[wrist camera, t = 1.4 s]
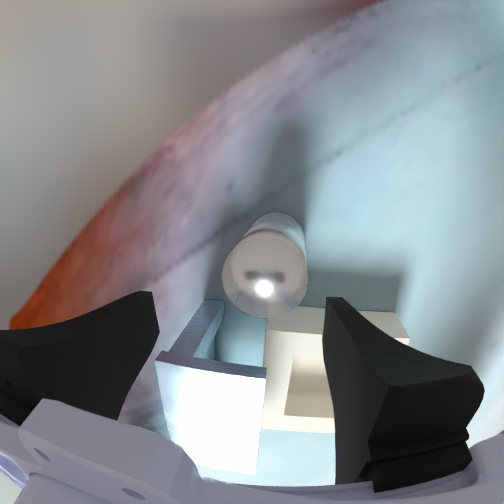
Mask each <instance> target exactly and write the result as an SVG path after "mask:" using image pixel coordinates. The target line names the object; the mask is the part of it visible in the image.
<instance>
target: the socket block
mask: <svg viewBox="0 0 504 504" xmlns="http://www.w3.org/2000/svg"><path fill="white" fill-rule="evenodd" d="M357 311H358V310H357ZM358 312H359V313H360V314H361V315H363V316H364V317H365V318H366V319H367V320H369V321H370V322H371V323H372V324H374V325H375V326H376V327H378V328H379V329H380V330H382V331H383V332H385V333H386V334H388V335H389V336H391V337H393V338H394V339H396V340H398V341H400V342H401V343H403V344H405V345H407V346H408V343H409V340H410V337H409V335H408V334H407V332H406V330H405V329H404V327H403V325H402V323H401V322H400V320H399V318H398V317H397V315H396V313H395V312H375V311H358ZM324 317H325V308H316V307H304V306H297V307H296V308H294V309H293V310H292V311H290V312H289V313H287V314H285V315H283V316H280V317H276V318H268V323H267V328H266V336H265V348H264V359H263V367H265V368H267V376H266V385H265V395H264V404H263V413H262V422H261V428H266V429H276V430H286V431H300V432H319V433H335V425H334V411H333V404H332V398H331V393H330V389H329V384H328V379H327V374H326V369H325V365H324V360H323V347H322V335H323V327H324Z"/></svg>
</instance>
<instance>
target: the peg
mask: <svg viewBox="0 0 504 504" xmlns="http://www.w3.org/2000/svg"><path fill="white" fill-rule="evenodd" d="M222 283H223V287H224V290H225V293H226V295H227V297H228V298H229V300H230V301H231V302H232V303H233V304H234V305H235V306H236V307H237V308H238V309H239V310H241V311H242V312H244V313H246V314H248V315H250V316H253V317H257V318H276V317H280V316H283V315H285V314H287V313H289V312H290V311H292V310H293V309H294V308H296V307H297V306H298V305H299V304H300V302H301V301H302V299H303V298H304V296H305V293H306V290H307V286H308V270H307V259H306V249H305V239H304V233H303V230H302V228H301V226H300V224H299V223H298V222H297V221H296V220H295V219H294V218H293V217H291V216H290V215H288V214H285V213H281V212H271V213H267V214H265V215H263V216H261V217H260V218H258V219H257V220H256V221H255V222H254V224H253V225H252V226H251V227H250V229H249V230H248V231H247V232H246V234H245V235H244V236H243V237H242V238H241V240H240V241H239V242H238V243H237V245H236V246H235V247H234V248H233V250H232V251H231V252H230V254H229V255H228V256H227V258H226V260H225V263H224V265H223V269H222Z"/></svg>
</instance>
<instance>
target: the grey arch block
mask: <svg viewBox="0 0 504 504" xmlns="http://www.w3.org/2000/svg"><path fill="white" fill-rule="evenodd" d="M223 318H224V301H219V300H211V299H205V300H204V302H203V303H202V304H201V306H200V307H199V309H198V310H197V312H196V313H195V314H194V316H193V317H192V319H191V320H190V322H189V323H188V324H187V326H186V327H185V329H184V330H183V332H182V333H181V334H180V336H179V337H178V339H177V340H176V342H175V343H174V345H173V346H172V347H171V349H170V350H169V352H166V351H161V353H160V354H159V355H158V357H157V358H156V359H155V364H156V371H157V377H158V382H159V388H160V393H161V399H162V404H163V409H164V414H165V418H166V423H167V428H168V432H169V436H170V440H171V441H173V442H174V443H176V444H178V445H179V446H181V447H182V448H183V449H184V451H185V452H186V453H187V454H188V455H189V457H190V458H191V459H192V460H193V461H194V463H195V464H198V465H202V466H207V467H212V468H217V469H222V470H228V471H234V472H240V473H247V474H255V469H256V464H257V456H258V447H259V439H260V431H261V422H262V413H263V404H264V395H265V385H266V376H267V368H265V367H257V366H249V365H241V364H234V363H227V362H221V361H215V334H216V332H217V330H218V328H219V326H220V324H221V322H222V320H223Z"/></svg>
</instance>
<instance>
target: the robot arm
mask: <svg viewBox="0 0 504 504" xmlns="http://www.w3.org/2000/svg"><path fill="white" fill-rule="evenodd" d="M159 333H160V331H159V326H158V321H157V316H156V311H155V306H154V301H153V295H152V292H147V291H138V292H135V293H132V294H129V295H127V296H125V297H122V298H120V299H118V300H116V301H114V302H111V303H109V304H107V305H105V306H103V307H100V308H98V309H96V310H93V311H91V312H89V313H86V314H84V315H81V316H79V317H76V318H73V319H70V320H67V321H63V322H60V323H55V324H51V325H47V326H42V327H36V328H29V329H20V330H0V472H2V473H3V474H4V475H5V476H7V477H8V478H9V479H10V480H11V481H13V482H14V483H15V484H17V485H18V486H19V487H21V488H22V491H21V493H20V494H19V496H18V498H17V499H16V501H15V503H14V504H504V435H503V434H499V435H496V436H494V437H491V438H489V439H486V440H483V441H481V442H478V443H476V444H475V445H473V446H472V447H470V448H469V449H468V446H467V444H466V442H465V441H467V440H468V439H469V434H468V432H467V429H466V427H467V425H468V424H469V422H470V421H471V419H472V418H473V416H474V415H475V413H476V411H477V410H478V408H479V406H480V404H481V402H482V400H483V396H484V391H485V390H484V386H483V383H482V382H481V380H480V379H479V377H478V376H477V374H476V373H475V371H474V370H473V368H472V367H471V366H469V365H465V364H460V363H455V362H451V361H446V360H443V359H440V358H437V357H434V356H431V355H428V354H425V353H423V352H420V351H418V350H416V349H414V348H411V347H409V346H407V345H405V344H403V343H401V342H400V341H398V340H396V339H394V338H393V337H391V336H389V335H388V334H386V333H385V332H383V331H382V330H380V329H379V328H378V327H376V326H375V325H374V324H372V323H371V322H370V321H369V320H367V319H366V318H365V317H364V316H363V315H361V314H360V313H359V312H358V311H357V310H356V309H355V308H353V307H352V306H351V305H350V304H349V303H348V302H347V301H346V300H344V299H343V298H342V297H326V308H325V317H324V327H323V335H322V347H323V360H324V365H325V369H326V374H327V379H328V384H329V389H330V393H331V398H332V404H333V411H334V425H335V448H336V478H335V485H327V486H301V487H284V486H258V485H244V484H234V483H226V482H222V481H218V480H214V479H211V478H207V477H204V476H200V475H199V473H198V470H197V468H196V465H195V463H194V461H193V460H192V459H191V458H190V457H189V455H188V454H187V453H186V452H185V451H184V449H183V448H182V447H181V446H179V445H178V444H176V443H174V442H173V441H171V440H169V439H168V438H166V437H165V436H163V435H161V434H158V433H155V432H153V431H150V430H147V429H145V428H142V427H139V426H135V425H131V424H127V423H124V422H120V421H117V420H118V417H119V414H120V411H121V408H122V406H123V404H124V401H125V399H126V396H127V394H128V392H129V390H130V388H131V386H132V384H133V383H134V381H135V379H136V377H137V376H138V374H139V372H140V371H141V369H142V367H143V366H144V364H145V362H146V361H147V359H148V357H149V355H150V354H151V352H152V350H153V348H154V345H155V343H156V341H157V338H158V335H159Z"/></svg>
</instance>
